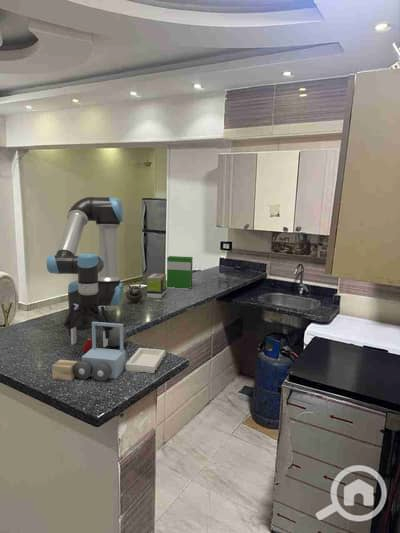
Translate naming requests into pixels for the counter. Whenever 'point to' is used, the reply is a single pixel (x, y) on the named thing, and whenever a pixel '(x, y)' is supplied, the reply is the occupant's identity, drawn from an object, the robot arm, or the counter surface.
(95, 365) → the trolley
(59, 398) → the counter surface
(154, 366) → the tray
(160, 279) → the tea box
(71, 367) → the block
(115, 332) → the decorative ball
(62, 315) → the counter surface
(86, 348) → the red rounded piece
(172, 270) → the hardback book
